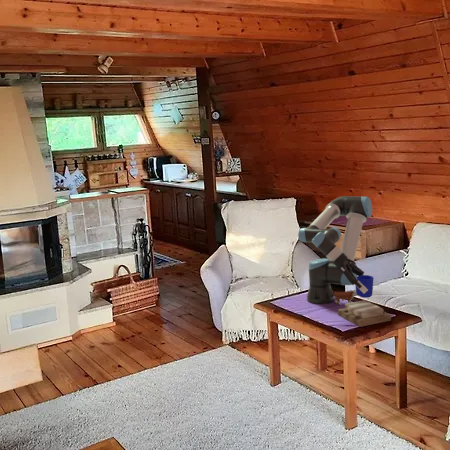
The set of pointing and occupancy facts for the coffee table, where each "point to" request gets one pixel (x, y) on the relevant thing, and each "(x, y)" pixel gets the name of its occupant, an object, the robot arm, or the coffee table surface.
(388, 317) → the plinth
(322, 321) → the coffee table surface
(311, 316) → the coffee table surface
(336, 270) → the robot arm
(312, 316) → the coffee table surface
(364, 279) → the mug
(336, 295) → the bull figurine
